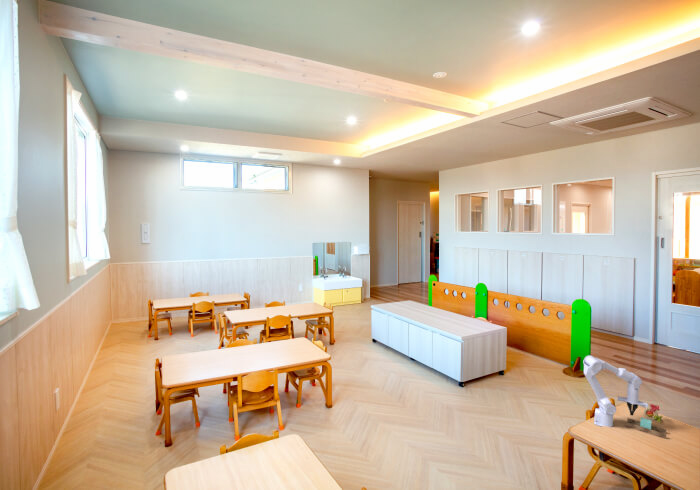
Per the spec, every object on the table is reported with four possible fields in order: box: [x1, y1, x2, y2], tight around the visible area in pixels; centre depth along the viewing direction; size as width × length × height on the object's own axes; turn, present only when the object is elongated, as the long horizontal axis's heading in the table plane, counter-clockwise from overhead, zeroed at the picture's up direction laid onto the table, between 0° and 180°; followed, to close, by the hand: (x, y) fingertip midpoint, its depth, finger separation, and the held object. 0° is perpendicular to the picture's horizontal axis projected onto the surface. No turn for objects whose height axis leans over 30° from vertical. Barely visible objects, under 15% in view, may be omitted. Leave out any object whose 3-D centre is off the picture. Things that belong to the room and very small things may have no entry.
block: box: [639, 417, 653, 429], centre depth 219 cm, size 5×5×6 cm
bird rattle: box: [643, 403, 664, 423], centre depth 231 cm, size 6×11×9 cm
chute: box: [625, 417, 667, 440], centre depth 219 cm, size 19×7×4 cm, turn 48°
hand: (631, 414), depth 223 cm, fingers closed
